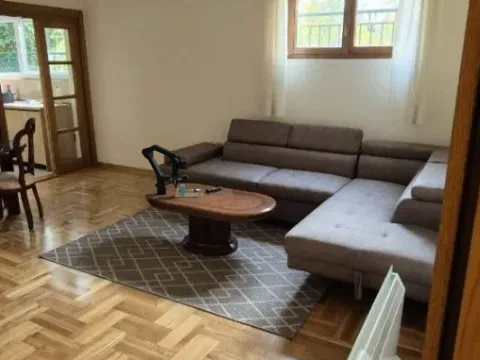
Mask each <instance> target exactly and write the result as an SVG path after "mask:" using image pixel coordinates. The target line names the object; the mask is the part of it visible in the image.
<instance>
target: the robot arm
mask: <svg viewBox="0 0 480 360" xmlns="http://www.w3.org/2000/svg"><path fill="white" fill-rule="evenodd" d="M154 152H158V153H159V154H161V155H163V156H166V157H167V158H168V159H169V161H168V163H169V164H171V165H170V166H171V174H170V175H169V174H166V173H163V171H162V169H161V168H160V166H159V164H158V163H157V160H156V159H155V157H154V154H155V153H154ZM141 154H142V156H143V157H144V158H145V159H146V160H147V162H149V165H150V167H151V168H152V170H153V172H154V173H155V176H156V181H157V182H156V183H155V184H154V186H155V188H156V191H157V192H156V195H157V196H163V195H164V196H165V195H166V194H167V187H166V186H168V183H169V180H170V182H172V184H173V186H174V189H177V187H178V184H179V182H181V180H183V181H188V180H189V176H188V174H182V176H181V173H180V170H182V171H187V170H188V169H189V162H188V161H187V160H184V159H183V157H182V156H181V155H180V152H178V151H173V150H169V149H167V148H165V147H163V146H160V145H158V144H157V143H155V144H152V145H150V146H148V147H145V148H143V149H141Z"/></svg>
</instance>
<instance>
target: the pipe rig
mask: <svg viewBox="0 0 480 360" xmlns="http://www.w3.org/2000/svg"><path fill="white" fill-rule="evenodd" d="M175 191H176V192H175V196H174V198H203V195H204V194H203V193H202V188H201V187H200V188H199V187H198V188H187V189H186V188H185V189H184V192H185V194H184V195H180V187H178V188H176V189H175Z"/></svg>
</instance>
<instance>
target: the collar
mask: <svg viewBox="0 0 480 360" xmlns="http://www.w3.org/2000/svg"><path fill="white" fill-rule="evenodd" d="M185 187H186V185H185V184H184V183H182V184H180V186H179V188H180V195H184V194H185V193H186V192H184V189H186V188H185Z"/></svg>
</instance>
